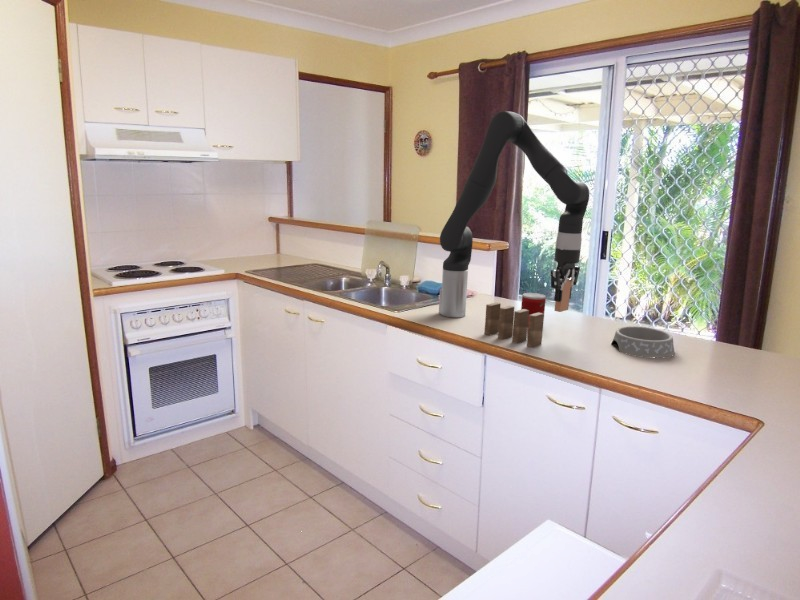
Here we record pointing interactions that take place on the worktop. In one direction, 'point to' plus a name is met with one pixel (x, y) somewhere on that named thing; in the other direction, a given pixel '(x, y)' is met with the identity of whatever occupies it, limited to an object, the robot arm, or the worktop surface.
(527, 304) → the canned food
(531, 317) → the domino
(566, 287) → the domino
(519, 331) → the domino
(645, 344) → the dog bowl
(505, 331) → the domino
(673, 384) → the worktop surface
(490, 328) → the domino
